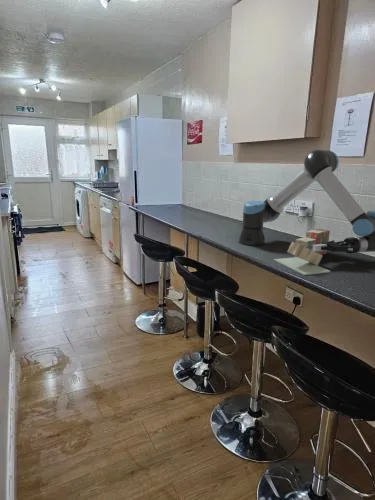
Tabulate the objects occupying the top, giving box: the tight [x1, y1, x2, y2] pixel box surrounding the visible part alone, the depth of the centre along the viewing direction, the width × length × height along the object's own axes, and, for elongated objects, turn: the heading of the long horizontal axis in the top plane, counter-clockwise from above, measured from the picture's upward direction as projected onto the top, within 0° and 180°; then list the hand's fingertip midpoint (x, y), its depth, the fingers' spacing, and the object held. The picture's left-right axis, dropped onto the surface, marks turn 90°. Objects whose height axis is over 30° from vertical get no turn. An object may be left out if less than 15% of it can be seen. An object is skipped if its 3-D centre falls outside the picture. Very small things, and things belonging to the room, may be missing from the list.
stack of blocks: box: [293, 228, 331, 259], centre depth 165 cm, size 21×6×12 cm, turn 130°
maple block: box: [286, 241, 324, 266], centre depth 147 cm, size 5×5×15 cm
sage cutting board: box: [273, 256, 331, 276], centre depth 148 cm, size 22×14×1 cm, turn 19°
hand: (313, 248), depth 148 cm, fingers closed
